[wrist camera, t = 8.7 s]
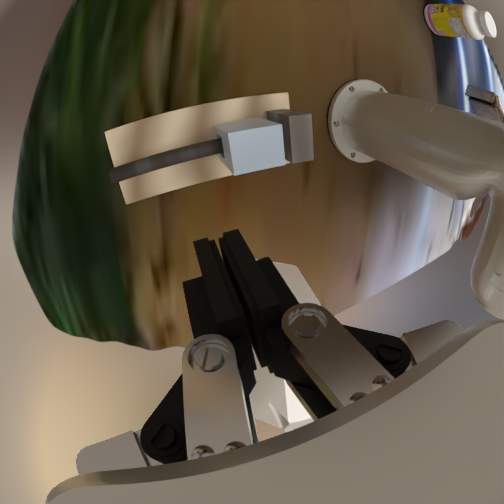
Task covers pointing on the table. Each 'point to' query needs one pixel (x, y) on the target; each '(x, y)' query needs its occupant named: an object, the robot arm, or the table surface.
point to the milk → (274, 388)
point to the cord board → (181, 137)
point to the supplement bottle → (459, 21)
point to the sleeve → (251, 145)
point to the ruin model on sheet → (485, 104)
